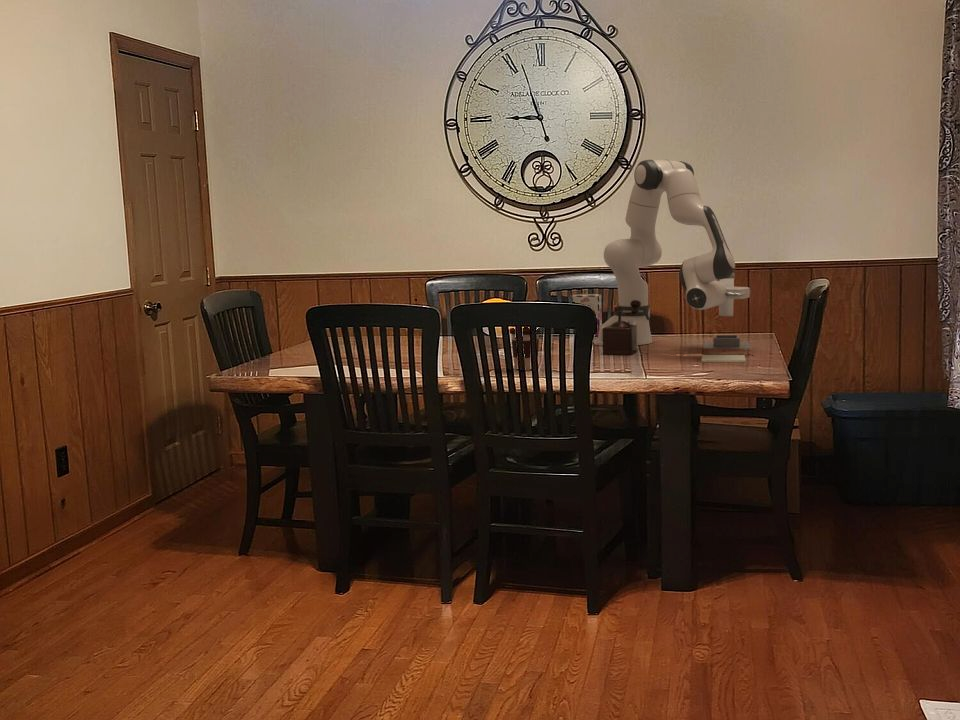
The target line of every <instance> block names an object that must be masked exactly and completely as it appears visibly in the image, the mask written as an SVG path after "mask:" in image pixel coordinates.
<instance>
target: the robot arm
mask: <svg viewBox="0 0 960 720" xmlns="http://www.w3.org/2000/svg"><path fill="white" fill-rule="evenodd" d="M633 175H634V177H633V178H634V183H633V187H632V190H631V192H630V197H629V199H628V200H629V201H628V204H627V205H628V206H627V209H626V214H625V219H624V220H625V223H626V224H627V226H628V227H629V228H630V237H629V238H623V239H617V240H614V241H611V242H609V243H607V245H606V246H605V247H604V250H603V260H604V262H605V264H606V265H607V266H608V267H609V268H610V269H611V270H612V272H613V274H614V277H615V279H616V284H617V293H618V294H617V297H618V299H617V300H618V304H617V305H616V304H615V305H613V307H612V316H611V317H610V318H608V319H607V320H606V321H605V322H604V323H602V325H601V327H600V329H599V333H598V336H597V338H594V339H595V340H594V339H593V340H594V344H593V345H595V346H603V331H602V329H603V328H605V327H607V326H609V325H611V324H612V323H614V322H617V321H618V312H617V310H618V309H617V307H618V306H620V307H621V312H625V313H631V311H632V307H631V305H630V303H631V301H633V300H638V301H640V302H641V306H640V307H639V309H638V310H639V313H636V314H631V315H622V314H621V321H625V322H627V323H628V322H629V321H630V322H629V324H630V325H637V346H643V345H648V344H652V343H653V342H654V340H653V338H652V333H651V327H650V319H651V312H650V311H651V309H650V304H649V284H648V283H647V281H646V280H644V279H643V278H642V275H641V273H640V269H639V268H647V267H650V266H652V265H655V264H657V263H658V262H659V261H661V257H662V254H663V251H662V247H661V244H660V243H659V241H658V239H657V236H656V223H657V219H658V218H657V217H658V213H659V208H660V205H661V199H662V195H663V193H666V199H667V205H668V210H669V213H670V216H671V217H672V219H673V220H674V221H676V222H677V223H679V224H682V225H686V226H698V227H704V229H705V231H706V234H707V237H708V239H709V241H710V244H711V247H712V250H711V251H710V252H707V253H704V254H701V255H698V256H694V257H693V256H692V257H691V258H690V257H689V258H688V259H685V260H683V261H682V264H681V265H680V268H679V273H678V274H679V275H678V276H679V279H680V284H681V285H682V288H683V290H684V291H686V292H685V300H686V302H687V305H689V306H690V307H691V308H692V309H695V310H703V311H704V310H708V309H710V308H714V307H717V306H718V307H719V305H721V304H722V303H723V302H724V301H725V300H726V299H734V300H743V299H748V298H750V295H751V288H750V287H748V286H734V287H730V286H724V284H722V283H721V282H719V280H721V279H726V278H729V277H730V276H731V275H732V273H735V272H734V271H735V270H736V261H735V259H734V256H733V254H732V253H731V251H730V248H729V246H728V244H727V241H726V239H725V237H724V234H723V231H722V229H721V227H720V224H719V221H718V218H717V217H716V215H715V213H714V211H713V210H712V208H711V207H710V206H708V205H705V204H704V203H703V201H702V198H701V195H700V189H699V186H698V184H697V180H696V177H695V172H694V168H693V167H692V165H691V164H690V163H688V162H685V161H682V160H681V161H678V160H672V159H645V160H641V161H640V162H638V164H637V165H636V167H635V170H634V174H633Z"/></svg>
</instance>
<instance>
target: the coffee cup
mask: <svg viewBox="0 0 960 720" xmlns="http://www.w3.org/2000/svg"><path fill="white" fill-rule="evenodd" d="M537 333H538V334H537V357H538V356H539V344H540V339H539V334H540V333H541V328H540V327H539V328H538V329H537ZM509 334H510V335H511V349H512V356H513V362H514V369H515V370H516V369H517V348H516V339H515V329H514V328H513V327H511V328H509ZM529 335H530V329H529V328H528V327H524V328H523V344H524V354H525V366H526V370H525V371H531V370H530V340H529Z"/></svg>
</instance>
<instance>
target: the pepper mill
mask: <svg viewBox="0 0 960 720" xmlns="http://www.w3.org/2000/svg"><path fill="white" fill-rule="evenodd" d="M630 305H631V307H632V311H631V313H625V312H621V307H620V306H618V305H617V306H618V307H617V309H618V310H617V312H618V321H617V322H614V323H612V324H611V325H609V326H607V327H605V328H603V329H602V331H603V345H602V355H605V356H606V355H609V356H610V355H611V356H612V355H613V356H615V355H616V356H632V355H634V354H636V353H637V352H638V345H637V325H630V324H629V322H630V321H629V322H628V323H627V322H625V321H621V314H622V315H631V314H636V313H639V310H638V309H639V307H640V306H641V302H640V301H638V300H633V301H631V303H630Z"/></svg>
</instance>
